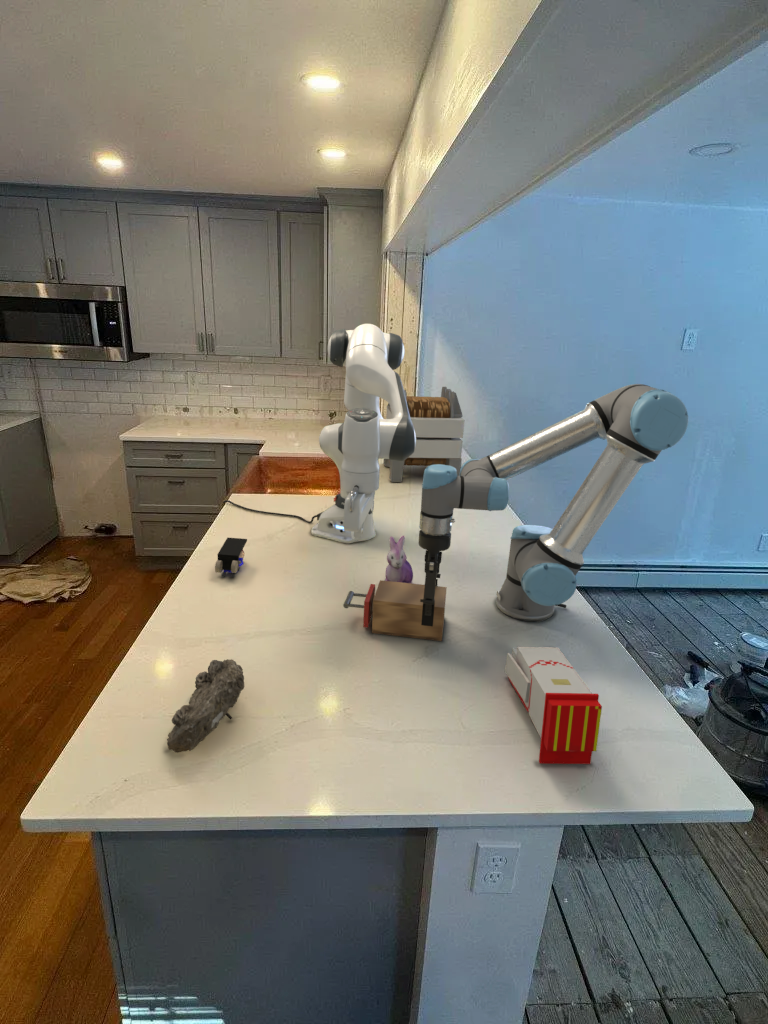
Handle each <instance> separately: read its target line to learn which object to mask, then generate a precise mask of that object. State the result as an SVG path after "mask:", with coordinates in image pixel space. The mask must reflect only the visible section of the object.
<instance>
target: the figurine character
mask: <svg viewBox="0 0 768 1024" xmlns="http://www.w3.org/2000/svg"><path fill="white" fill-rule="evenodd" d="M247 542H248V538H240V537H226V539H225V541H224V543H223V544H222V546H221V547H220V549H219V551H218V552H217V560H216V562H215V564H214V572H215V573H221V577H222V578H224V577H225V576H226V574H227V573H230V574H231V573H232V574H231V578H234V577H235V575H236V573H237V572H239V571H240V567H242V566H243V565H244V564H245V562H244V558H245V551H244V547H245V546H246V544H247Z"/></svg>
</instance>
